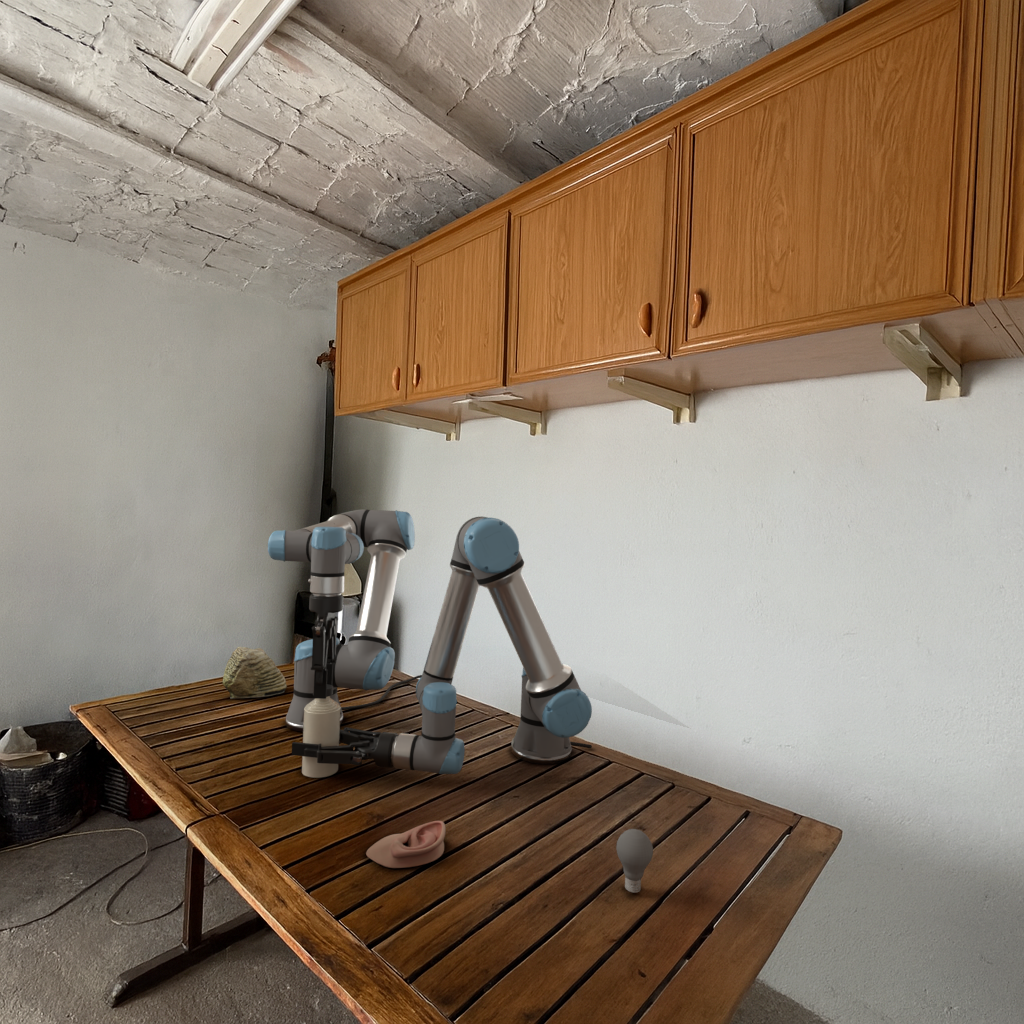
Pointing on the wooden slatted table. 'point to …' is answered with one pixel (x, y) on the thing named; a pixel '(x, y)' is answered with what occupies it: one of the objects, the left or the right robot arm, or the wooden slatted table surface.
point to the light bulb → (634, 857)
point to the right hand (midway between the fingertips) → (301, 741)
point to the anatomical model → (410, 846)
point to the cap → (329, 690)
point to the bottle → (320, 734)
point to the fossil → (252, 674)
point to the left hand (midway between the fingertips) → (322, 694)
